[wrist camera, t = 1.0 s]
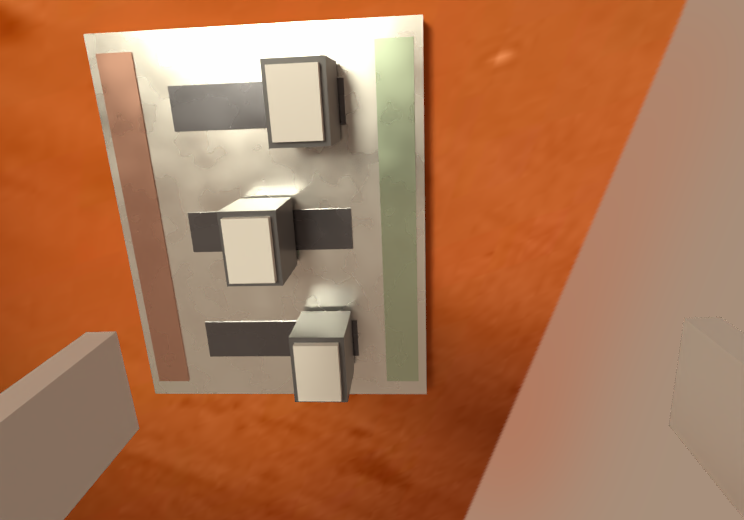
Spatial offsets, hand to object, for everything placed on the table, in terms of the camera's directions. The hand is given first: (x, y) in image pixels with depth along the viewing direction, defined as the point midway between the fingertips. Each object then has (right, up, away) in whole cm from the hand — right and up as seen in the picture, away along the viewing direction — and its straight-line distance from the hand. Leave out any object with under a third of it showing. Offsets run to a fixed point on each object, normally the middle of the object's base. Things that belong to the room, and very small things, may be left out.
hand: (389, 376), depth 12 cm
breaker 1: (-6, +4, +17) cm, 19 cm away
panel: (-6, +5, +19) cm, 20 cm away
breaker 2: (-4, +11, +15) cm, 19 cm away
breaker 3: (-3, -2, +19) cm, 19 cm away
